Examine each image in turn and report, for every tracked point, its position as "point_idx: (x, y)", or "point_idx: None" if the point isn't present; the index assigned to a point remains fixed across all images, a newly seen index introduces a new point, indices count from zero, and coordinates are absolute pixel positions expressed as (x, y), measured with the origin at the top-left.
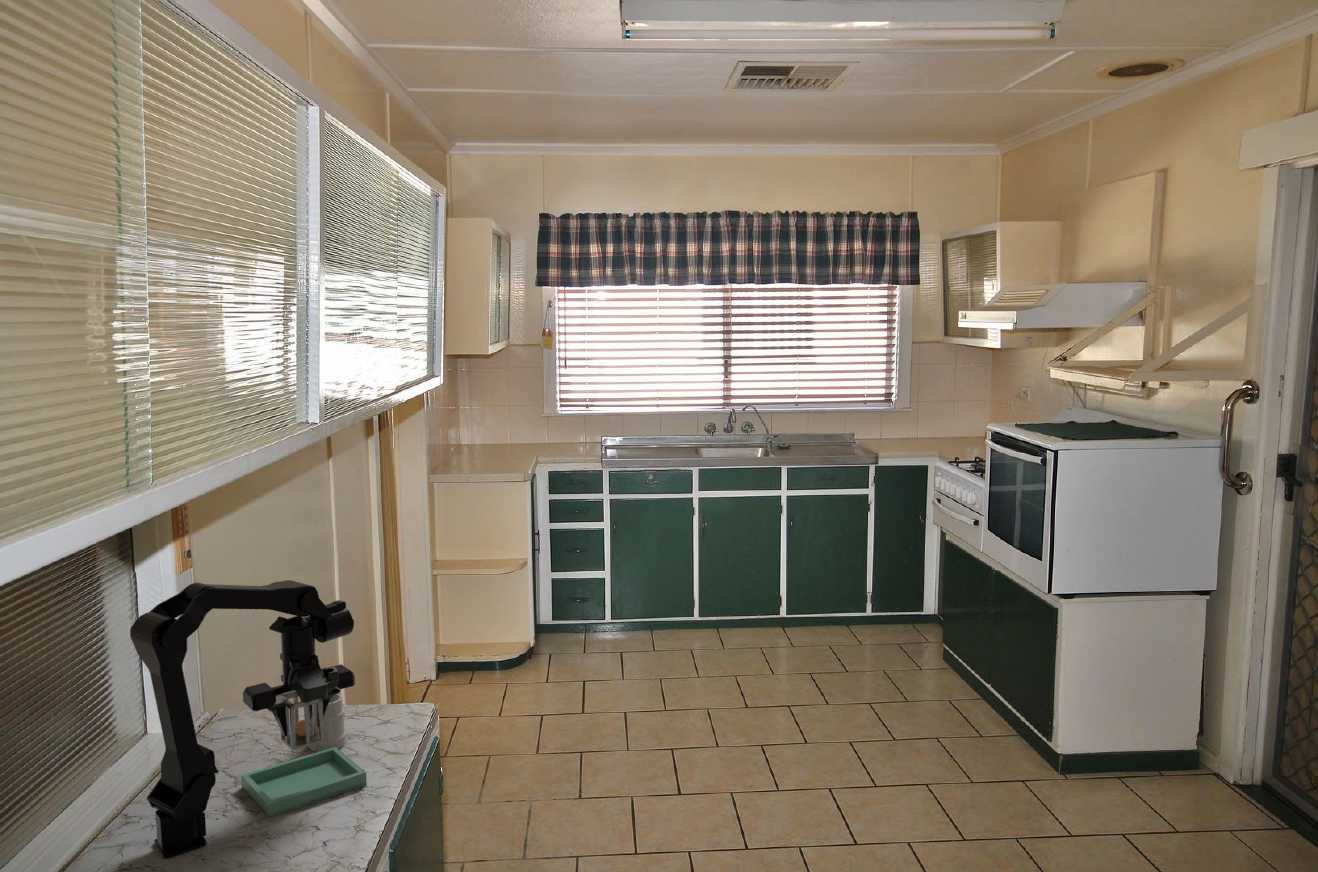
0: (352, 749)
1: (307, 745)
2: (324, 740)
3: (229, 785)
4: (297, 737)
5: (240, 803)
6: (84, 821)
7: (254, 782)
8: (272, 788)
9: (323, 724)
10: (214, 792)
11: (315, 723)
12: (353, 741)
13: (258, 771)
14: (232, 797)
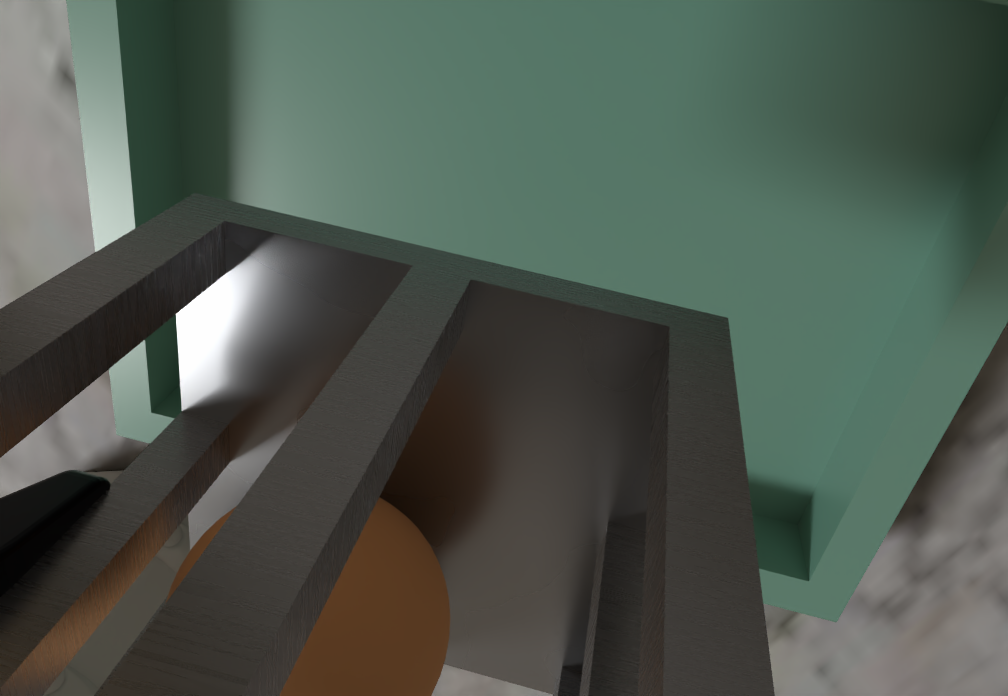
0: None
1: (467, 261)
2: None
3: (837, 623)
4: (450, 553)
5: (1004, 387)
6: None
7: (878, 464)
8: (738, 358)
9: (72, 659)
10: (961, 628)
11: (99, 556)
12: (9, 472)
13: None
14: (957, 498)
